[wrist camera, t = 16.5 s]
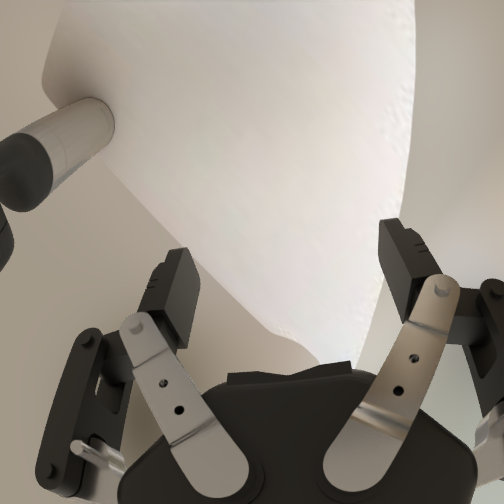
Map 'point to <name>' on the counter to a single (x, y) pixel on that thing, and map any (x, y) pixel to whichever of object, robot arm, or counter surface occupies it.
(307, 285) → the counter surface
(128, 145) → the counter surface
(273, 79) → the counter surface
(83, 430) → the robot arm
